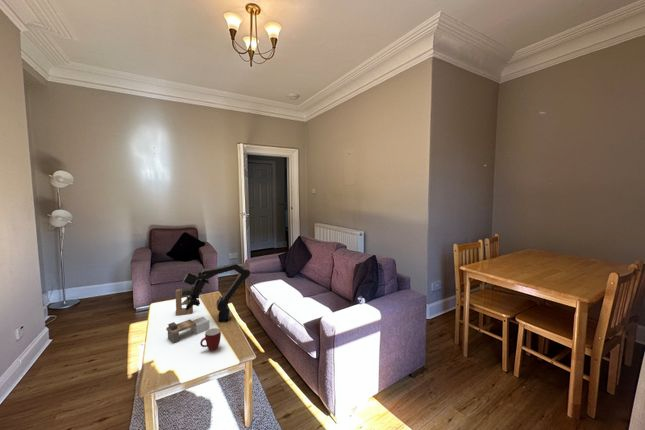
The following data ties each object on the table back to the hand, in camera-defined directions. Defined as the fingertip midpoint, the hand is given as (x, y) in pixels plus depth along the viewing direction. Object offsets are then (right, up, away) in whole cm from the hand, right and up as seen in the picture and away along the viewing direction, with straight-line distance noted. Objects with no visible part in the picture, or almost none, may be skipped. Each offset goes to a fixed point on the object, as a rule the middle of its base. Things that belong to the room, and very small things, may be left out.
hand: (186, 309), depth 172 cm
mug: (+26, -14, -24) cm, 38 cm away
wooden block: (-11, -10, +20) cm, 25 cm away
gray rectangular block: (+6, -12, -7) cm, 15 cm away
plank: (+3, -7, -11) cm, 13 cm away
